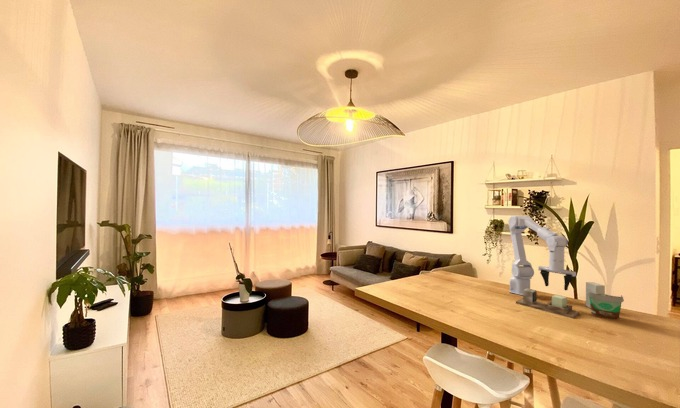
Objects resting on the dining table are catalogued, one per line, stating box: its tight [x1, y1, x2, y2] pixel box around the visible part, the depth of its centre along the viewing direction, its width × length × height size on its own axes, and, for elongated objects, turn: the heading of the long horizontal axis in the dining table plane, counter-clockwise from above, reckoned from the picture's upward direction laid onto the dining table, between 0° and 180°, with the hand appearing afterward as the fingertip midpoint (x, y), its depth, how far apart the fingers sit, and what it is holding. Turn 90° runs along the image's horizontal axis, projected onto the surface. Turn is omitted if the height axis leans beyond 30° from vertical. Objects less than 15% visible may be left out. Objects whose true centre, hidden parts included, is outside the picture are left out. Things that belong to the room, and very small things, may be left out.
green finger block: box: [550, 294, 568, 309], centre depth 130 cm, size 4×5×6 cm
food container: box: [587, 292, 625, 320], centre depth 124 cm, size 12×6×10 cm, turn 62°
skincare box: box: [585, 281, 606, 309], centre depth 135 cm, size 6×4×12 cm
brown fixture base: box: [515, 288, 580, 319], centre depth 134 cm, size 23×9×7 cm, turn 36°
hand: (556, 287), depth 136 cm, fingers open, 7 cm apart
